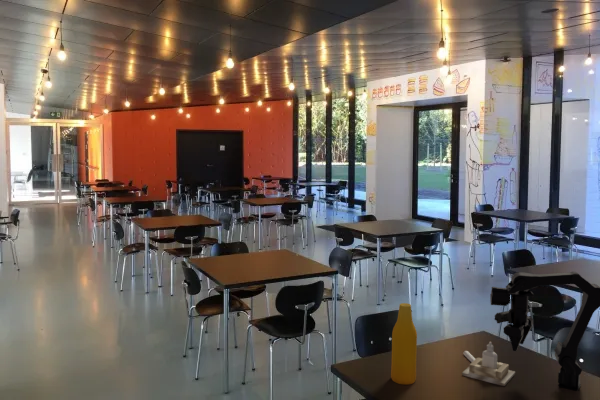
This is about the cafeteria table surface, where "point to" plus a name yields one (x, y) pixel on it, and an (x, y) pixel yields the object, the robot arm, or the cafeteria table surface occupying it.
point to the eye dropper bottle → (489, 357)
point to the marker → (469, 356)
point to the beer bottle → (404, 347)
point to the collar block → (489, 372)
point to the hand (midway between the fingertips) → (518, 347)
